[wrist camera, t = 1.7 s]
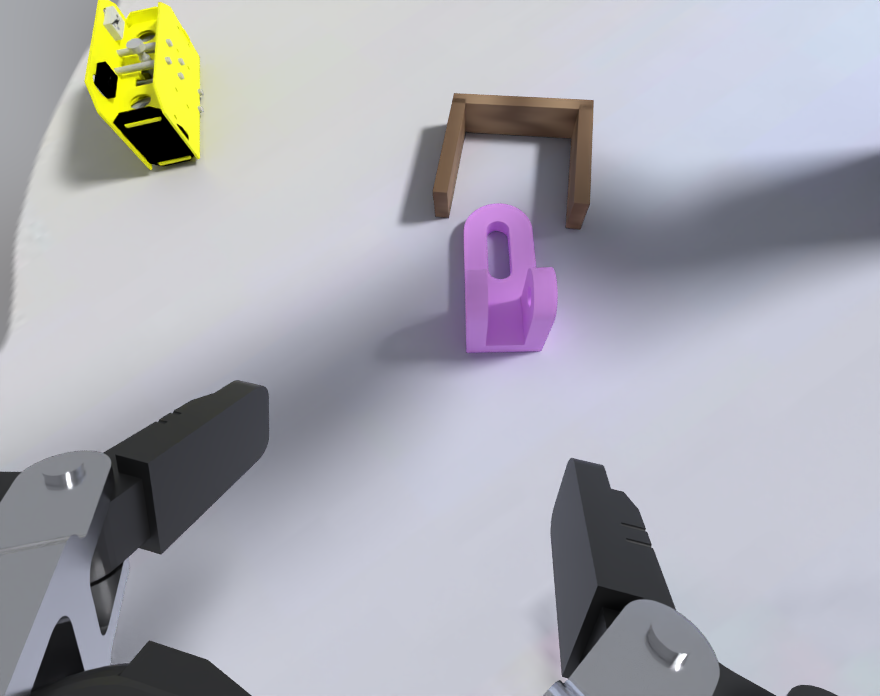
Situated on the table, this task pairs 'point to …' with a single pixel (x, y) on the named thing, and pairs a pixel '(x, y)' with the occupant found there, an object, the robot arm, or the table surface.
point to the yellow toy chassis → (146, 82)
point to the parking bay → (527, 121)
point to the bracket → (506, 286)
